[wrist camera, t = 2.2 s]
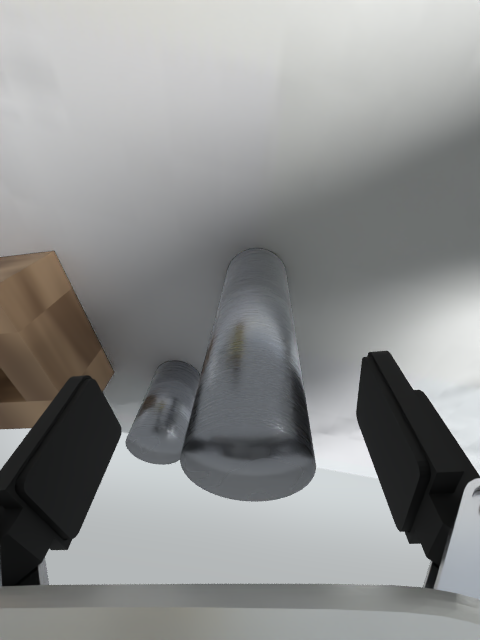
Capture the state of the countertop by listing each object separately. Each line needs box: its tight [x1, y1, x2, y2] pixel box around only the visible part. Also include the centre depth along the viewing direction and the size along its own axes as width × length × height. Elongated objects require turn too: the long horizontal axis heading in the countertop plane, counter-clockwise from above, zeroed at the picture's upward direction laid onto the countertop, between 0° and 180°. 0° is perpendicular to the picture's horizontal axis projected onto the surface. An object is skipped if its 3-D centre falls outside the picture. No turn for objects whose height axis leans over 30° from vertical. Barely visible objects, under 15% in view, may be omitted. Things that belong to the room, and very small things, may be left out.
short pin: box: [126, 361, 200, 464], centre depth 21 cm, size 4×4×6 cm
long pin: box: [180, 248, 316, 501], centre depth 13 cm, size 4×4×12 cm
